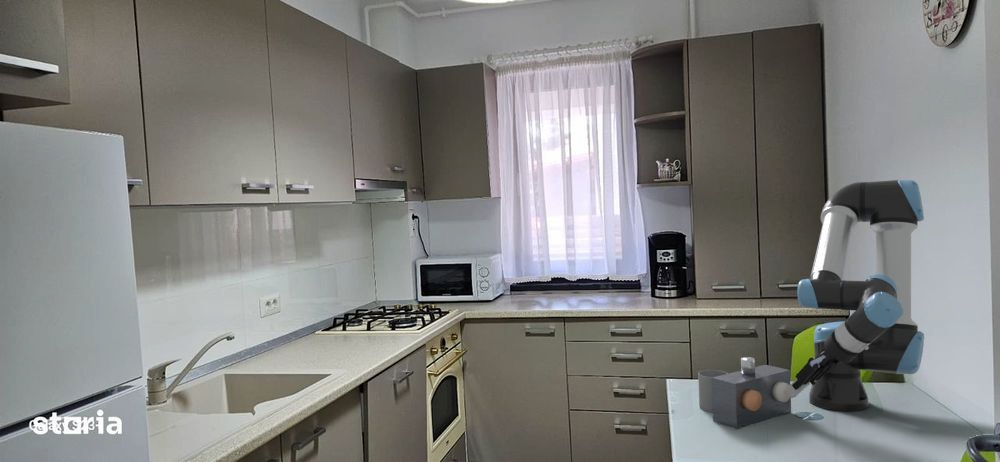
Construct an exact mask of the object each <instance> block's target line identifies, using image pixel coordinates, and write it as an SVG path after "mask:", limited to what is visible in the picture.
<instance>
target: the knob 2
mask: <svg viewBox="0 0 1000 462" xmlns="http://www.w3.org/2000/svg"><path fill="white" fill-rule="evenodd" d="M790 385H791V384H790ZM790 385H789V384H787V383H784V382H777V383H776V384H775V385H774V387H773V391H772V394H773V397H774V399H775V400H777V401H781V402H787V401H788V400H789V398H790V396H789V394H788V393H787V392H786V390H785V389H786V388H787V387H788V386H790Z"/></svg>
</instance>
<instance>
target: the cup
mask: <svg viewBox="0 0 1000 462" xmlns="http://www.w3.org/2000/svg"><path fill="white" fill-rule="evenodd" d="M725 374H729V372H726V371H725V370H717V369H706V370H700V371H698V373H697V375H698V377H697V378H698V400H699V401H698V403H699V409H700V410H702V411H705V412H709V413H713V402H712V377H716V376H721V375H725Z"/></svg>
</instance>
